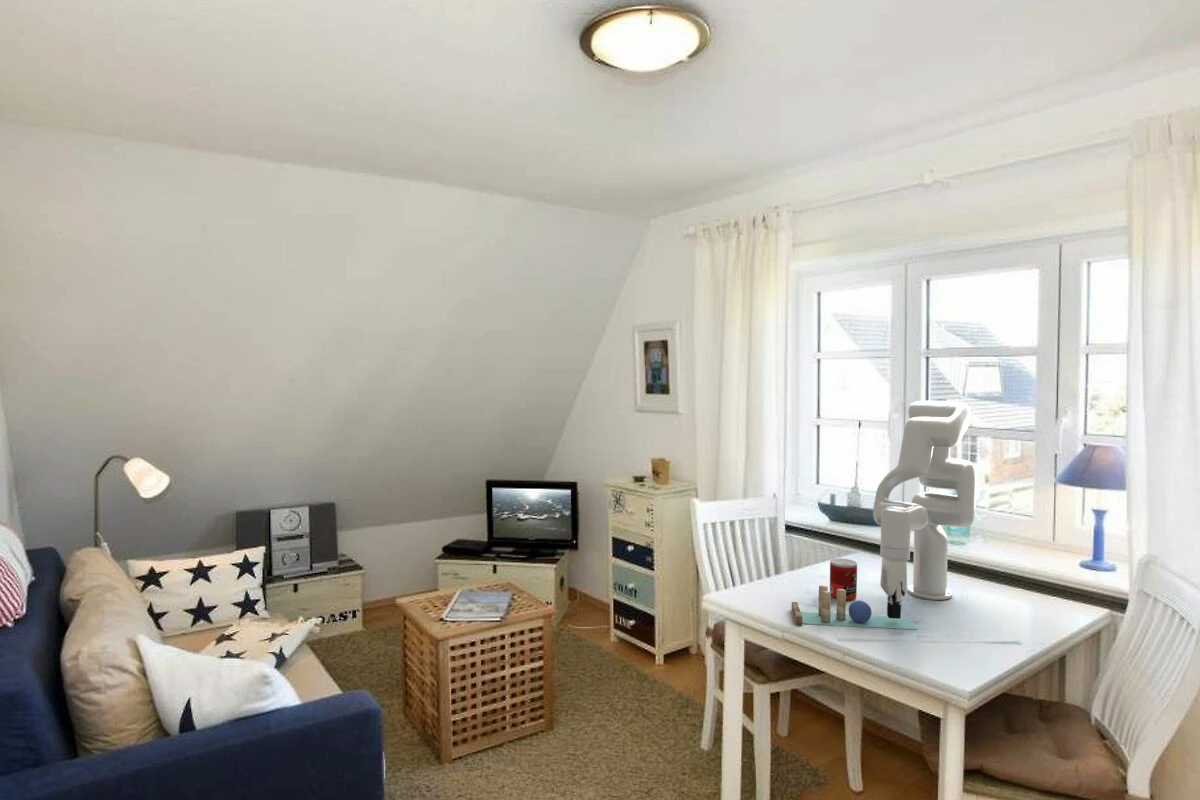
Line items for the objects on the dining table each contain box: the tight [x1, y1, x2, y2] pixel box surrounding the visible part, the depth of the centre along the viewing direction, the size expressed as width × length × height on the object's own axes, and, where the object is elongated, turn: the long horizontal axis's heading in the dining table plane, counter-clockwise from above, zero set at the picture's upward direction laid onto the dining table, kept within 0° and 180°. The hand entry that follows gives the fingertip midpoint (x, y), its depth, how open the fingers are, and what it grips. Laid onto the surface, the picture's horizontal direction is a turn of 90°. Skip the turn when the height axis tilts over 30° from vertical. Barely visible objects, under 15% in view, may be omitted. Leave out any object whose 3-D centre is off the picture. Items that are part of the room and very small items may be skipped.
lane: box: [801, 611, 918, 631], centre depth 201 cm, size 9×30×1 cm, turn 81°
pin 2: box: [821, 590, 832, 623], centre depth 199 cm, size 2×2×8 cm
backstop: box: [791, 601, 803, 627], centre depth 203 cm, size 12×2×2 cm, turn 171°
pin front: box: [835, 589, 847, 621], centre depth 201 cm, size 2×2×8 cm
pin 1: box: [818, 584, 829, 616], centre depth 204 cm, size 2×2×8 cm
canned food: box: [829, 558, 858, 602], centre depth 220 cm, size 8×8×11 cm
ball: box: [848, 600, 872, 623], centre depth 199 cm, size 6×6×6 cm
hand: (893, 617), depth 199 cm, fingers closed
